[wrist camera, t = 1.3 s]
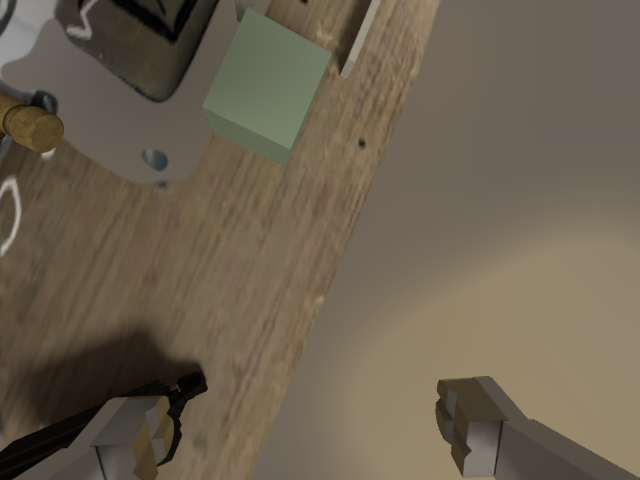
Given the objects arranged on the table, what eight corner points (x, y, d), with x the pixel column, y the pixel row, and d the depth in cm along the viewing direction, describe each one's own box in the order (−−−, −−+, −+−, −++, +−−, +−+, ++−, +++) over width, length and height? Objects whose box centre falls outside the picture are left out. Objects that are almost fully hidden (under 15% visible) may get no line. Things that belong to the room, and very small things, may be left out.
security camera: (215, 401, 38) (199, 456, 29) (62, 470, 35) (-16, 559, 25) (195, 352, 38) (172, 391, 28) (38, 417, 35) (-50, 488, 25)
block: (214, 133, 39) (201, 106, 31) (250, 53, 39) (247, 6, 32) (285, 166, 40) (290, 149, 32) (318, 88, 41) (332, 53, 33)
